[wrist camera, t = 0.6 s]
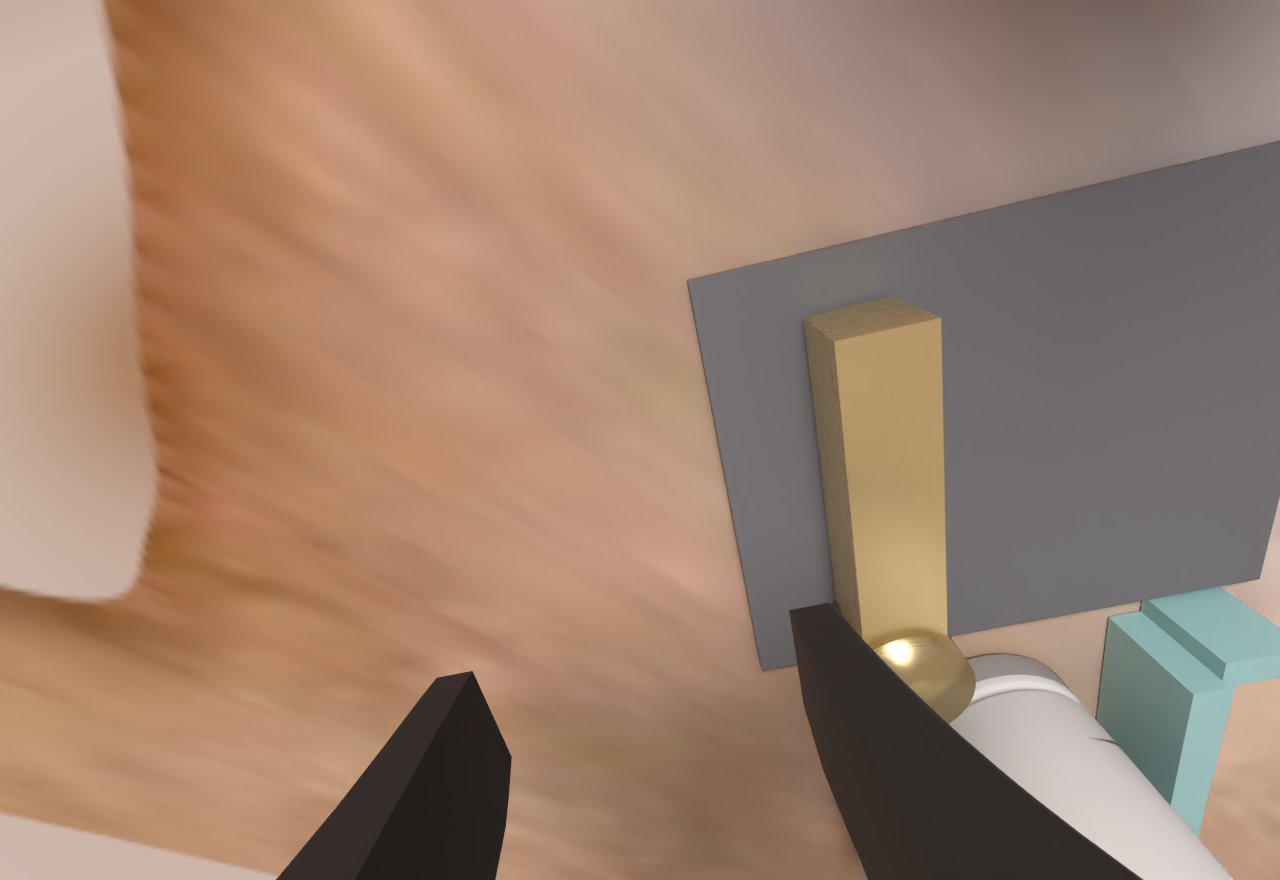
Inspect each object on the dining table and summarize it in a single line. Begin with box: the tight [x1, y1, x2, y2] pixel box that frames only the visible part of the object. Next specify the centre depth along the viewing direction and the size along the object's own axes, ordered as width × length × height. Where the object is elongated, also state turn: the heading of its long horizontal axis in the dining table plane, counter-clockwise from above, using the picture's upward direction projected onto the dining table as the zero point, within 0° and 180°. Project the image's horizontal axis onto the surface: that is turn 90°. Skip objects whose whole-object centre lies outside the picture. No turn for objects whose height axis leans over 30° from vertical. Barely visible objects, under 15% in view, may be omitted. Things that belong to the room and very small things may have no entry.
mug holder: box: [853, 587, 1280, 880], centre depth 22 cm, size 14×9×4 cm
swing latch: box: [803, 296, 976, 724], centre depth 17 cm, size 13×4×3 cm, turn 13°
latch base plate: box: [687, 141, 1280, 671], centre depth 18 cm, size 17×14×1 cm
